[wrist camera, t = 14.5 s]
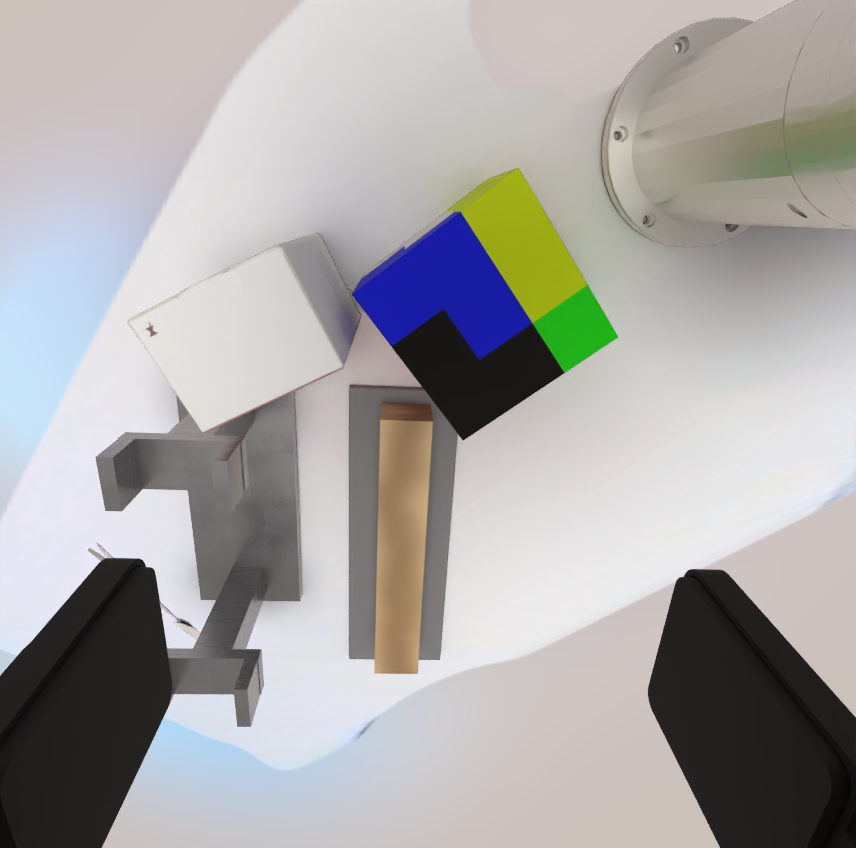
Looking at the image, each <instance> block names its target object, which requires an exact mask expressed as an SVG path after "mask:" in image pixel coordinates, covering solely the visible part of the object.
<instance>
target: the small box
mask: <svg viewBox="0 0 856 848" xmlns="http://www.w3.org/2000/svg"><path fill="white" fill-rule="evenodd" d="M360 319H361V315H360V313H359V311H358V309H357V308H356V306H355V304H354V302H353V300H352V298H351V296H350V294H349V292H348V290H347V288H346V286H345V284H344V282H343V280H342V278H341V276H340V274H339V272H338V270H337V268H336V266H335V264H334V262H333V260H332V258H331V256H330V254H329V252H328V250H327V248H326V246H325V244H324V242H323V240H322V238H321V236H320V234H319V233H314V234H312V235H309V236H305V237H302V238H298V239H295V240H292V241H289V242H286V243H282V244H279V245H276V246H274V247H272V248H269V249H267V250H265V251H263V252H261V253H259V254H257V255H255V256H253V257H251V258H249V259H247V260H245V261H242V262H240V263H238V264H236V265H234V266H232V267H230V268H228V269H226V270H224V271H222V272H220V273H218V274H215V275H213V276H211V277H209V278H207V279H205V280H203V281H201V282H199V283H197V284H195V285H193V286H191V287H189V288H186V289H184V290H183V291H181V292H180V293H178V294H176V295H175V296H173V297H171V298H169V299H167V300H165V301H163V302H161V303H159V304H158V305H156V306H154V307H152V308H150V309H148V310H146V311H144V312H142V313H140V314H138V315H137V316H135V317H133V318H131V319H129V320H128V321H127V323H128V324H129V326H130V327H131V328H132V330H133V331H134V333H135V334H136V335H137V337H138V338H139V340H140V341H141V343H142V344H143V346H144V347H145V349H146V350H147V352H148V353H149V355H150V356H151V358H152V359H153V361H154V362H155V364H156V365H157V366H158V368H159V369H160V371H161V372H162V374H163V375H164V377H165V378H166V380H167V381H168V383H169V384H170V386H171V387H172V388H173V390H174V391H175V393H176V394H177V396H178V397H179V399H180V400H181V402H182V403H183V405H184V406H185V408H186V409H187V411H188V412H189V413H190V415H191V416H192V418H193V419H194V421H195V422H196V423H197V425H198V426H199V428H200V430H201V431H202V432H203V433H205V432H208V431H210V430H212V429H214V428H216V427H219V426H221V425H223V424H225V423H227V422H229V421H232V420H234V419H236V418H238V417H240V416H242V415H244V414H247V413H249V412H251V411H253V410H255V409H257V408H259V407H261V406H264V405H266V404H268V403H270V402H272V401H274V400H276V399H279V398H281V397H283V396H285V395H287V394H289V393H291V392H293V391H296V390H298V389H300V388H302V387H304V386H306V385H308V384H310V383H312V382H315V381H317V380H319V379H321V378H323V377H325V376H327V375H329V374H331V373H334V372H336V371H338V370H340V369H342V368H343V367H344V364H345V361H346V359H347V356H348V353H349V350H350V347H351V344H352V342H353V339H354V336H355V333H356V330H357V327H358V324H359V322H360Z"/></svg>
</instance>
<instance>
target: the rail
mask: <svg viewBox="0 0 856 848" xmlns="http://www.w3.org/2000/svg"><path fill="white" fill-rule="evenodd" d="M432 427H433V419H432V412H431V405H430V404H410V403H383V402H382V409H381V418H380V453H379V497H378V541H377V585H376V629H375V673H390V674H418V660H419V643H420V627H421V610H422V593H423V577H424V560H425V543H426V527H427V510H428V493H429V477H430V460H431V443H432Z"/></svg>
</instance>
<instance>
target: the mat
mask: <svg viewBox="0 0 856 848" xmlns="http://www.w3.org/2000/svg"><path fill="white" fill-rule="evenodd" d="M382 402H383V403H410V404H430V405H431V412H432V419H433V427H432V443H431V460H430V477H429V493H428V510H427V527H426V543H425V560H424V577H423V593H422V610H421V627H420V643H419V660H440V651H441V638H442V626H443V613H444V600H445V587H446V574H447V561H448V548H449V535H450V522H451V509H452V496H453V484H454V471H455V458H456V445H457V432H456V431H455V429H454V428H453V427H452V425H451V424H450V423H449V422H448V420H447V419H446V418H445V416H444V415H443V414H442V412H441V411H440V410H439V408H438V407H437V406H436V404H435V403H434V402H433V400H432V399H431V398H430V397H429V395H428V394H427V393H426V391H425V390H424V389H423V388H412V387H385V386H358V385H350V387H349V659H375V629H376V585H377V541H378V497H379V453H380V418H381V409H382Z"/></svg>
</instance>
